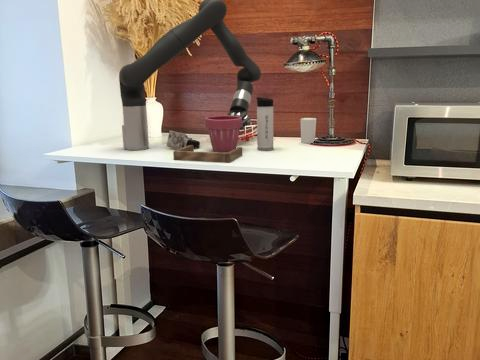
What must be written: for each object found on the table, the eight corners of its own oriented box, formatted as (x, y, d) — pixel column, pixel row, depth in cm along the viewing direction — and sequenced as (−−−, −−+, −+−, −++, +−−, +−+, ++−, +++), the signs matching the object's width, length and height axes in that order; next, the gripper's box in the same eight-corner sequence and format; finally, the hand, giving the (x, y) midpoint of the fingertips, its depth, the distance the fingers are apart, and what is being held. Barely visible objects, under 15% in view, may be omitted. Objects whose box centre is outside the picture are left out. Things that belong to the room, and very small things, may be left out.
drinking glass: (314, 144, 186) (315, 119, 184) (298, 143, 189) (298, 119, 186) (317, 141, 193) (317, 118, 190) (301, 141, 195) (302, 117, 192)
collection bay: (173, 159, 160) (173, 151, 159) (190, 152, 172) (189, 145, 171) (229, 162, 153) (229, 153, 152) (242, 155, 165) (242, 147, 164)
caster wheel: (200, 153, 186) (191, 153, 176) (176, 146, 189) (165, 146, 179) (204, 137, 185) (194, 137, 175) (179, 130, 188) (169, 130, 178)
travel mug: (261, 147, 181) (260, 96, 176) (276, 148, 178) (276, 97, 173) (253, 150, 176) (253, 97, 171) (268, 151, 172) (268, 98, 168)
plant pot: (236, 153, 168) (236, 119, 165) (201, 152, 172) (199, 119, 169) (246, 147, 182) (245, 115, 179) (213, 146, 185) (212, 115, 182)
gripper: (223, 97, 191) (213, 129, 183) (253, 97, 187) (244, 130, 178) (228, 108, 197) (218, 141, 189) (257, 109, 193) (249, 142, 184)
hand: (231, 136), depth 184 cm, fingers closed
